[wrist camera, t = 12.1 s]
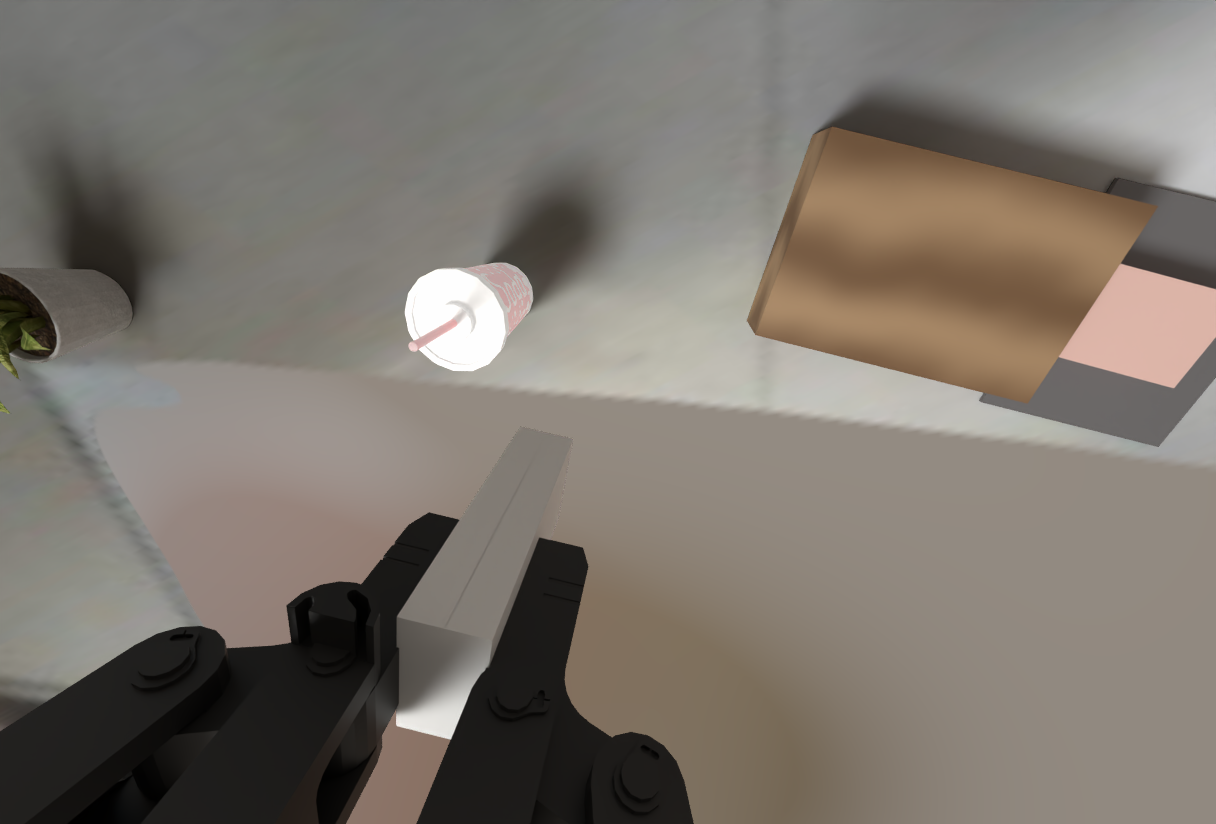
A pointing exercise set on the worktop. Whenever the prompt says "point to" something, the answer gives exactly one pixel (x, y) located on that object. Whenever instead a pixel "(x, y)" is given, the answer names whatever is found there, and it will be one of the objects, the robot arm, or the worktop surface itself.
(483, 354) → the beverage cup
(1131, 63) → the worktop surface
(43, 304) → the house plant
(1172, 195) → the mat
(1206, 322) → the block
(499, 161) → the worktop surface
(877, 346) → the brown wooden slab
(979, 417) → the worktop surface
